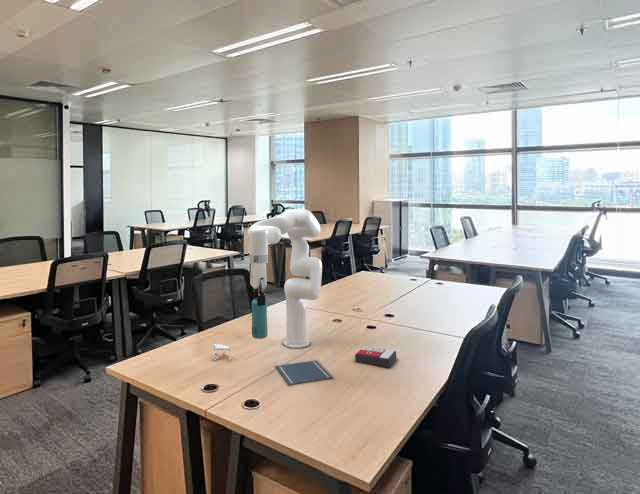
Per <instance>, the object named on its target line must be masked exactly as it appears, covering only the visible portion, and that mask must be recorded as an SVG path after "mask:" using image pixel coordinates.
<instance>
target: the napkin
mask: <svg viewBox="0 0 640 494" xmlns="http://www.w3.org/2000/svg"><path fill="white" fill-rule="evenodd" d="M275 367H276V369H277V370H278V372H280V374H281V376H282V377H283V378H284V379H283V380H285V382H286V383H287V384H288V385H289V386H293V385H299V384H306V383H312V382H318V381H324V380H331V379H333V376H332V375H331V374H330V373H329V372H328V371H327V370H326V369H325V367H323V366H322V365H321V364H320V363H319V362H318V361H317V360H310V361H304V362H303V361H302V362H296V363H289V364H283V365H281V364H280V365H276V366H275Z"/></svg>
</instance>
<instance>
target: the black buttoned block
mask: <svg viewBox="0 0 640 494" xmlns="http://www.w3.org/2000/svg"><path fill="white" fill-rule="evenodd" d="M354 357H355V362H356V363H363V364H370V365H376V366H379V367H380V368H386V369H390V368H391V366H393V364H394V363H395V361H396V360H397V350H395V349H386V348H382V347H374V346H366V345H363V347H362V348H360V349H359V350H358V351H357V352H356V353H355V354H354Z"/></svg>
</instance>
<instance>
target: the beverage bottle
mask: <svg viewBox="0 0 640 494" xmlns="http://www.w3.org/2000/svg"><path fill="white" fill-rule="evenodd" d="M260 290H261V289H260ZM260 290H259V291H260ZM257 296H258V290H256V291H254V297H257ZM265 303H266V304H265V305H263V306H258V305H257V298H255V299H254V300H253V299H252V301H251V336H252V338H253V339H257V340H262V339H266V338H267V337H268V302H267V300H266V299H265Z"/></svg>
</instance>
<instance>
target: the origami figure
mask: <svg viewBox="0 0 640 494" xmlns="http://www.w3.org/2000/svg"><path fill="white" fill-rule="evenodd" d="M213 350H214V351H213V352H212V354H211V357H214V358H215V359H213V361H217V360H218V359H219V357H218V356H217V352H218V351H223V352H222V355H223V356H225V352H226V351H229V352H230V355H231V356H229V357H228V362H230V360H231V359H232V357H233V356H234V354H233V352H232V349H231V348H230V347H229V346H228V345H225V344H222V343H221V344H220V343H219V344H218V343H215V344H214V343H213Z"/></svg>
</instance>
